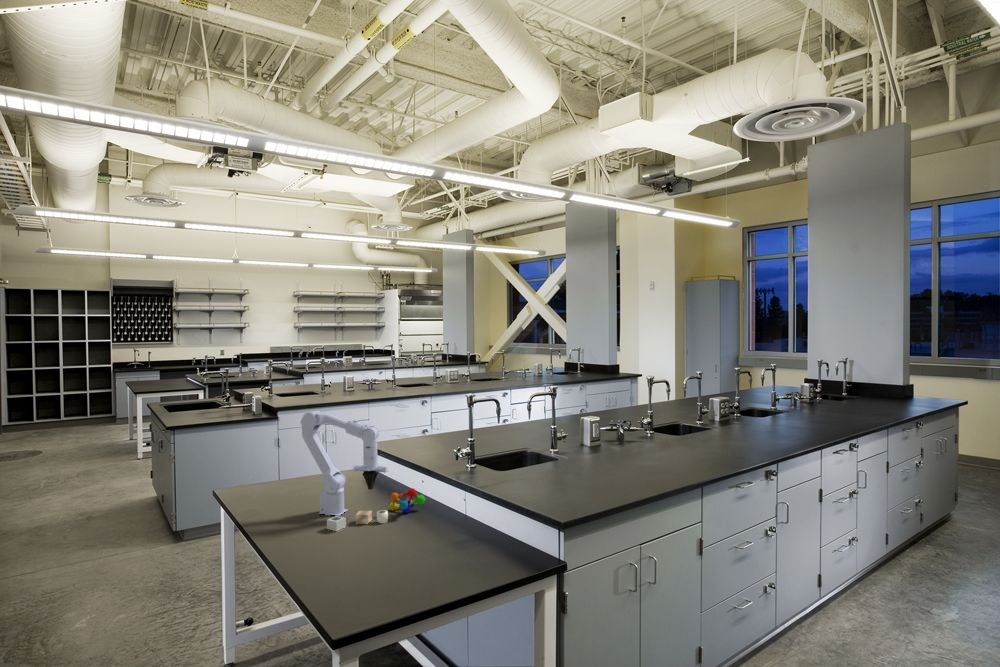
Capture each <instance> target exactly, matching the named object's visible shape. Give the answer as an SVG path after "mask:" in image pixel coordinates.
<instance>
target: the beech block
mask: <svg viewBox="0 0 1000 667" xmlns="http://www.w3.org/2000/svg"><path fill="white" fill-rule="evenodd" d="M371 520H372V521H373V510H359V511H357V512H356V514H355V525H358V524H368V523H369V522H370V521H371ZM372 521H371V522H372ZM371 522H370V523H371ZM370 523H369V524H370ZM369 524H368V525H369Z"/></svg>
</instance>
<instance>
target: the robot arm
mask: <svg viewBox="0 0 1000 667" xmlns="http://www.w3.org/2000/svg"><path fill="white" fill-rule="evenodd" d="M327 424H328V425H330V426H334V427H337V428H340V429H343V430H345V432H346V434H348V435H350V436H353V437H355V438H358V439H361V440H362V441H363V443H362V444H363V445H362V446H363V449H362V450H363V457H362V458H363V460H362V461H363V465H354V466H353V472H363V473H362V476H363V478H364V480H365V482H366V485H367V489H368V490H373V489H374V485H375V483H376V480H377V476H378V474H379V473H384V474H386V473H387V472H389V470H388V469H389V468H388V466H382V465H381V466H380V465H378V464H379V461H378V437H379V435H380V431H379V429H378V428H377V427H375V426H374V425H371V426H370V425H369V424H363V423H361V422H359V420H357V419H354V420H350V421H347V420H346V419H343V418H340V417H338V416H336V415H334V414H331V413H329V412H327V411H324V410H321V409H315V410H313V411H310V412H309V411H308V412H306V413H304V414H303V415H302V418H301V419H300V425H301V437H302V440H304V443H305V444H306V446H307V448H308V450H309V452H310V454H311V455H312V457H313V459H314V461H315V463H316V464H317V467H318V468H319V470H320V472H321V473H322V475H321V480H322V483H323V489H324V490H323V491H322V492H321V493H320V496H319V513H318V515H319V514H325V515H324V516H330V515H335V516H339V517H341V514H342V515H343V514H345V513H346V512H348V511H349V509H347V508H345V488H344V487H345V486H346V484H347V478H346V476H345V474H343V473H342V472H341V471H340V469H338V468H337V467H336V466H335V465H334V464H333V462H332V460H331V458H330V456H329V455H328V453H327V451H326V449H325V448H324V445H323V443H322V442H321V440H320V438H319V436H318V431H319V429H320V427H321V425H327ZM344 512H345V513H344ZM335 516H334V517H335Z"/></svg>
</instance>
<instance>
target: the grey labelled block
mask: <svg viewBox="0 0 1000 667" xmlns="http://www.w3.org/2000/svg"><path fill="white" fill-rule="evenodd" d="M345 527H346V528H347V517H343V516H332V517H331V518H328V519H326V530H327V529H330V530H335V531H338V530H340V529H342V528H345ZM346 528H345V529H346ZM342 530H343V529H342ZM340 531H341V530H340ZM338 532H339V531H338Z"/></svg>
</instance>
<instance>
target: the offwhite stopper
mask: <svg viewBox="0 0 1000 667" xmlns="http://www.w3.org/2000/svg"><path fill="white" fill-rule="evenodd" d="M377 522H379V523H385V522H387V523H388V522H389V511H388V510H387V509H382V510H377V511H376V523H377ZM385 524H386V523H385Z"/></svg>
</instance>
